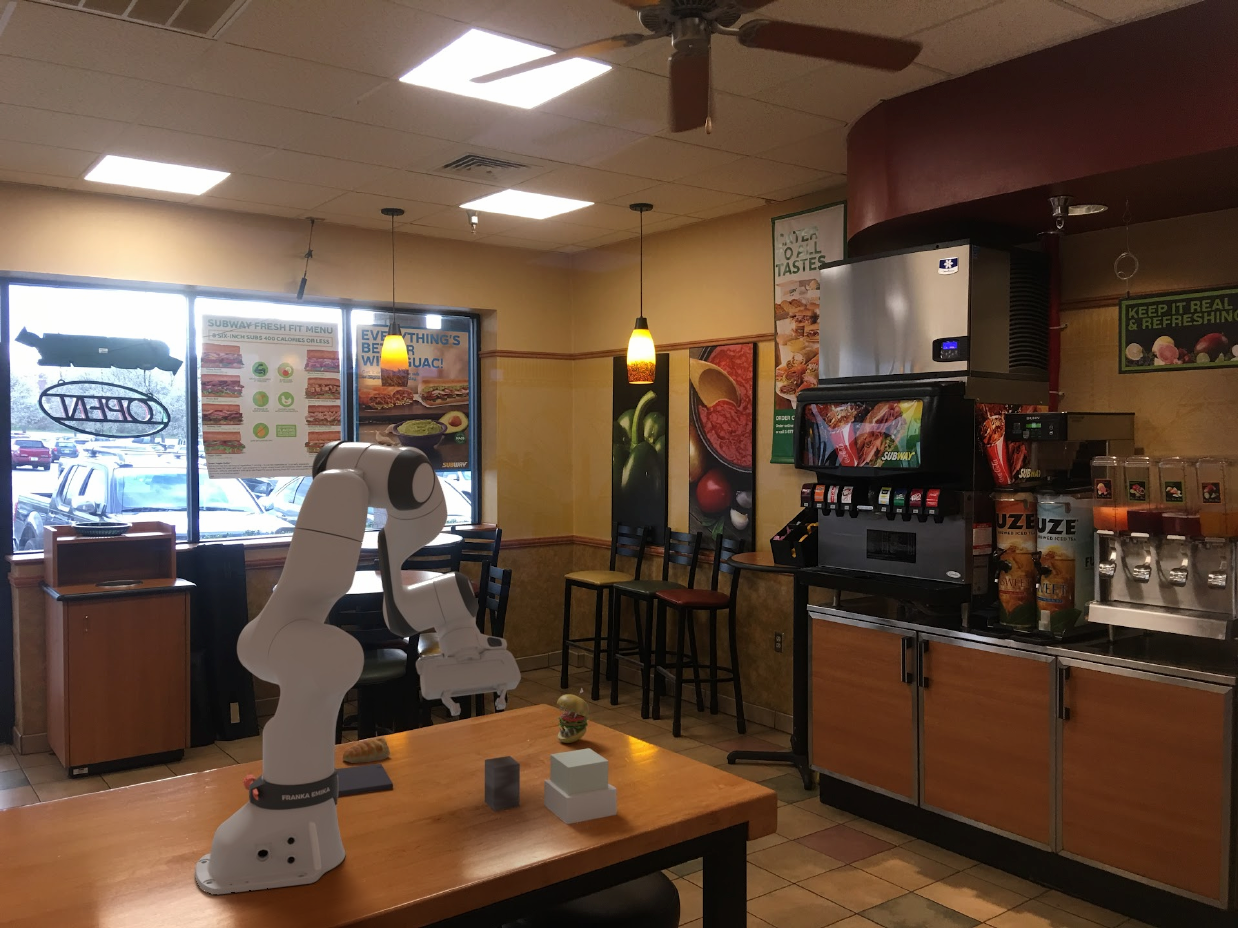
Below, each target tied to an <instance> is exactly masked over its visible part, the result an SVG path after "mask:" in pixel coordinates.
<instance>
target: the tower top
mask: <svg viewBox="0 0 1238 928" xmlns="http://www.w3.org/2000/svg"><path fill="white" fill-rule="evenodd" d="M549 769H550V772H549V773H550V776H549V777H550V781H551V782H552V783H554V784H555V785H556V786H557V787H559V788H560V789H561V790H562V791H564V792H565V793H566V794H567V795H572V794H578V793H583V792H589V791H594V790H600V789H606V788H608V783H609V760H608V759H606V758H605V757H603V756H602V755H601V754H599V753H597V752H596V751H594V750H593V749H591V748H589V747H587V748H584V749H576V750H569V751H564V752H558V753H550V768H549Z"/></svg>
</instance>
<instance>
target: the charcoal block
mask: <svg viewBox="0 0 1238 928" xmlns="http://www.w3.org/2000/svg"><path fill="white" fill-rule="evenodd" d="M520 769H521V763H520V762H518V761H517V760H515V758H513V757H512V756H510V755H506V756H500V757H493V758H488V759H484V803H485V804H486V805H487V806H488V807H489V808H490V809H492V811H494V812H497V811H501V810H507V809H511V808H517V807H520V801H521V800H520V793H521V792H520V791H521V790H520V789H521V788H520V781H521V780H520V777H521V776H520V773H521V771H520Z"/></svg>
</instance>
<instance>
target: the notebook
mask: <svg viewBox="0 0 1238 928" xmlns="http://www.w3.org/2000/svg"><path fill="white" fill-rule="evenodd" d="M335 769H336V770H337V775H338V797H343V796H350V795H359V794H365V793H371V792H372V793H373V792H380V791H386V790H393V789H394V783H393V781H392V780H391V778H390V776H389V774H388V773H387V771H386V769H385V768H384V766H383V765H382V763H373V764H365V765H356V766H348V767H342V768H340V767H339V768H335Z"/></svg>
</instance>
